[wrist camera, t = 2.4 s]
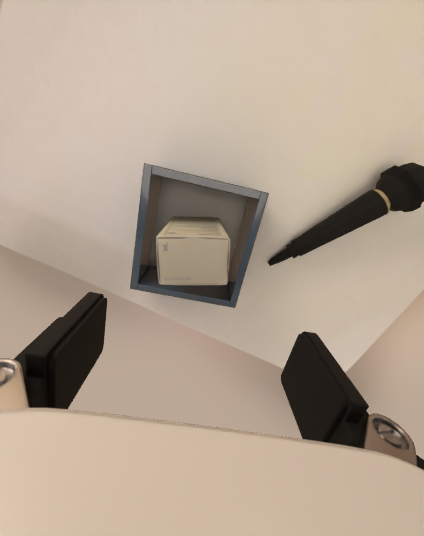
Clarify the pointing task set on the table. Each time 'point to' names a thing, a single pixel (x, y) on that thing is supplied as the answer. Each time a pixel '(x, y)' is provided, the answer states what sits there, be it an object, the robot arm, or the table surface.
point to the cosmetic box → (193, 252)
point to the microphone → (364, 209)
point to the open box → (141, 271)
